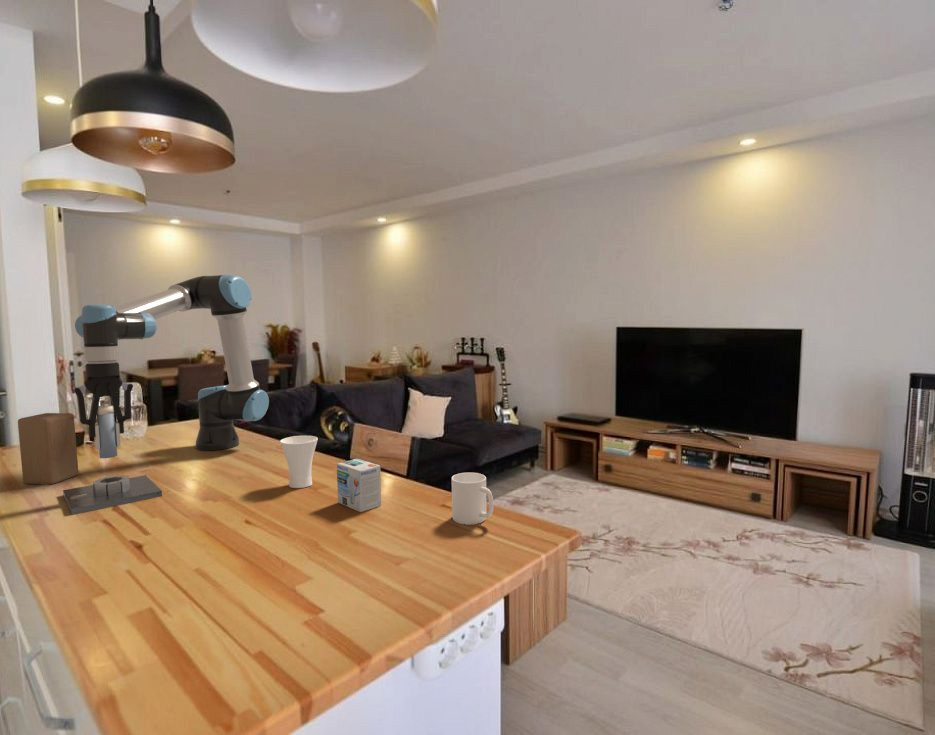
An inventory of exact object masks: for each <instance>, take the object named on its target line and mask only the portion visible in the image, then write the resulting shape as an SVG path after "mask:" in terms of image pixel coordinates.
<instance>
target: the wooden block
mask: <svg viewBox="0 0 935 735" xmlns="http://www.w3.org/2000/svg"><path fill="white" fill-rule="evenodd" d="M17 428H18V439H19V440H18V441H19V451H20V461H21V472H22V481H23V483H24V484H28V485H29V484H31V485H34V484H35V485H53V484H57V483H59V482H63V481H65V480H68V479H71V478H73V477H76V476H78V475H79V464H78V448H77V440H76V439H77V438H76V425H75V416H74V414H73V413H71V412H69V413H68V412H66V413H65V412H63V413H62V412H44V413H40V414H35V415H30V416H25V417H20V418H19V419H17Z"/></svg>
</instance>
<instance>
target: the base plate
mask: <svg viewBox="0 0 935 735" xmlns="http://www.w3.org/2000/svg"><path fill="white" fill-rule="evenodd" d="M62 493H63V498H64V501H65V502H66V505H67V507H68V509H69V511H70V513H71V515H72V516H73V515H77V514H82V513H87V512H88V513H89V512H92V511H96V510H102V509H106V508H111V506H112V507H116V506H121V505H126V504H131V503H135V502H139V501H143V500H149V499H155V498H158V497H162V496H163V492H162V489H161V488H160V487H159V486H157V485H156V484H155V482H154V481H152V480H151V478H149V477H148V476H147V475H146V474H144V475H139V476H133V477H130V476H128V475H119V474H118V475H111V476H106V477H101V478H98V479H96V480H94V481H92V484H90V485H84V486H79V487H74V488H68V489H67V488H66V489H63V490H62Z"/></svg>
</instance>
